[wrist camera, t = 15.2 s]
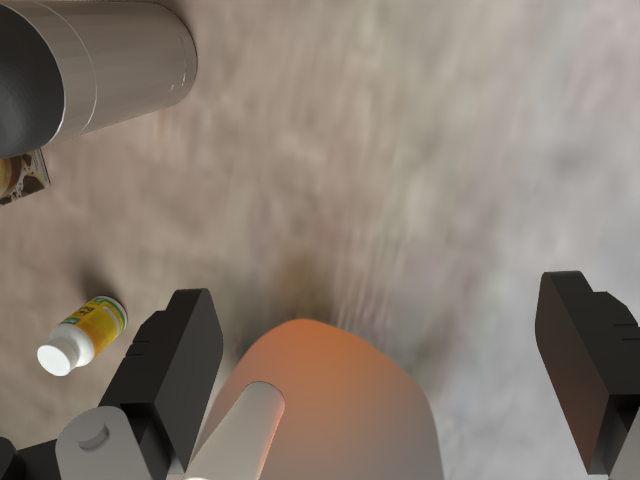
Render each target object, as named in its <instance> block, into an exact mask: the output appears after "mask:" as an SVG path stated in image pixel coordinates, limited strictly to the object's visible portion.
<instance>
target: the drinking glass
mask: <svg viewBox="0 0 640 480" xmlns="http://www.w3.org/2000/svg"><path fill="white" fill-rule="evenodd" d="M284 409H285V400H284V397H283V395H282V394H281V392H280V391H279V390H278V389H277V388H276V387H274V386H273V385H271V384H269V383H266V382H260V381H259V382H253V383H251V384H249V385H248V386H246V388H245V389H244V390H243V392H242V394H241V395H240V397H239V399H238V400H237V401H236V402H235V404H234V405H233V406H232V408H231V409H230V411H229V412H228V413H227V414H226V416H225V417H224V418H223V420H222V421H221V422H220V424H219V425H218V426H217V428H216V429H215V430H214V432H213V433H212V434H211V436H210V437H209V438H208V439H207V441H206V442H205V443H204V445H203V446H202V447H201V449H200V450H199V452H198V453H197V455H196V456H195V458H194V459H193V461H192V462H191V464H190V466H189V467H188V469H187V471H186V473H185V474H184V476H183V478H182V480H259V477H260V474H261V471H262V468H263V465H264V463H265V460H266V457H267V454H268V451H269V448H270V445H271V442H272V440H273V437H274V434H275V431H276V428H277V425H278V423H279V420H280V418H281V416H282V414H283V412H284Z"/></svg>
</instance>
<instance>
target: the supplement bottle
mask: <svg viewBox="0 0 640 480" xmlns="http://www.w3.org/2000/svg"><path fill="white" fill-rule="evenodd" d="M126 325H127V315H126V312H125V310H124V309H123V307H122V306H121V305H120V304H119V303H118V302H117V301H115V300H114V299H112V298H110V297H106V296H98V297H95V298H93V299H92V300H90V301H89V302H88V303H86V304H85V305H84V306H82V307H81V308H80V309H78V310H77V311H76V312H75V313H73V314H72V315H71V316H69V317H68V318H67V319H65V320H64V321H63V322H61V323H60V324H59V325H57V326H56V327H55V328H54V329H53V330H52V332H51V334H50V337H49V340H48V341H46V342H45V343H44V344H43V345H42V346H41V347H40V348H39V349H38V353H37V355H38V359H39V361H40V363H41V365H42V366H43V367H44V368H45V369H46V370H47V371H48V372H50V373H52V374H54V375H57V376H64V375H66V374H68V373H69V372H70V371H71V370H72V369H74V368H75V367H78V366H83V365H86V364H87V363H89V362H90V361H91V360H92V359H93V358H94V357H96V356H97V355H98V354H99V353H100V352H101V351H102V350H103V349H104V348H105V347H106V346H107V345H108V344H110V343H111V342H112V341H113V340H114V339H115V338H116V337H117V336H118V335H119V334H120V333H122V332H123V330H124V329H125V328H126Z"/></svg>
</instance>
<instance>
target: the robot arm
mask: <svg viewBox="0 0 640 480" xmlns="http://www.w3.org/2000/svg"><path fill="white" fill-rule="evenodd" d="M196 71H197V57H196V51H195V47H194V44H193V41H192V38H191V36H190V34H189V32H188V30H187V29H186V27H185V25H184V24H183V23H182V22H181V21H180V19H179V18H178V17H177V16H176V15H174V14H173V13H172V12H171V11H170V10H168V9H166V8H164V7H162V6H161V5H158V4H154V3H150V2H119V1H52V0H0V159H4V158H10V157H14V156H18V155H21V154H24V153H28V152H31V151H34V150H36V149H39V148H42V147H45V146H48V145H51V144H54V143H57V142H61V141H64V140H67V139H70V138H72V137H75V136H78V135H81V134H85V133H88V132H91V131H94V130H97V129H100V128H103V127H106V126H109V125H113V124H116V123H119V122H122V121H125V120H128V119H131V118H134V117H138V116H141V115H144V114H147V113H150V112H154V111H157V110H160V109H163V108H166V107H169V106H171V105H174V104H176V103H178V102H179V101H181V100H182V99H183V98H184V97H185V96H186V95H187V94H188V92H189V91H190V90H191V87H192V85H193V83H194V81H195V76H196ZM535 336H536V342H537V346H538V349H539V352H540V354H541V357H542V359H543V362H544V364H545V367H546V370H547V372H548V375H549V377H550V380H551V382H552V385H553V387H554V390H555V392H556V395H557V397H558V400H559V402H560V405H561V408H562V410H563V413H564V415H565V418H566V420H567V423H568V425H569V428H570V430H571V433H572V435H573V438H574V440H575V443H576V446H577V448H578V451H579V453H580V456H581V458H582V461H583V463H584V466H585V468H586V471H587V473H588V475H590V474H608V477H609V479H608V480H640V327H638V323H637V321H636V320H635V318H634V317H633V315H632V314H631V312H630V311H629V309H628V308H627V306H626V305H624V304H623V303H621V302H620V301H619V300H617V299H616V298H615V297H613V296H612V295H611V294H609V293H608V292H607V291H606V292H593V290H592V289H591V287H590V285H589V284H588V282H587V280H586V279H585V277H584V275H583V274H582V273H581V272H580V271H558V272H544V273H543V275H542V278H541V284H540V291H539V298H538V305H537V312H536V319H535ZM125 355H126V357H125V358H123V360H122V362H121V364H120V366H119V368H118V369H117V371H116V373H115V375H114V377H113V379H112V381H111V382H110V384H109V386H108V388H107V390H106V392H105V394H104V396H103V397H102V399H101V401H100V403H99V405H98V407H96V408H93V409H90V410H88V411H86V412H84V413H82V414H80V415H79V416H77V417H76V418H74V419H73V420H72V421H71V422H70V423H69V424H68V425H67V426H66V427H65V428H64V429H63V431H62V432H61V433H60V435H59V437H58V439H55V440H52V441H48V442H45V443H41V444H38V445H35V446H31V447H28V448H24V449H21V450H18V451H17V450H16V448H15V447H14V445H13V444H12V443H11V442H10V441H9V440H8V439H6V438H4V437H0V480H166V477H167V474H185V473H186V470H187V467H188V463H189V460H190V457H191V454H192V451H193V448H194V444H195V441H196V438H197V435H198V432H199V429H200V425H201V422H202V419H203V416H204V413H205V410H206V407H207V403H208V400H209V397H210V394H211V391H212V388H213V384H214V381H215V378H216V375H217V372H218V369H219V365H220V362H221V359H222V355H223V336H222V331H221V328H220V325H219V321H218V318H217V315H216V311H215V308H214V304H213V301H212V298H211V295H210V292H209V290H208V289H206V288H201V289H181V290H176V291H175V292H174V294H173V296H172V298H171V300H170V302H169V304H168V306H167V308H166V310H163V311H156V312H155V313H154V314H153V315H152V316H150V317H149V318H148V319H147V320H146V321H145V322H144V323H143V324H142V325H141V326H140V328H139V330H138V332H137V334H136V336H135V338H134V340H133V344H132V345H130V347H129V349H128V351H127V353H126V354H125Z"/></svg>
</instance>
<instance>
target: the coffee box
mask: <svg viewBox="0 0 640 480" xmlns="http://www.w3.org/2000/svg"><path fill="white" fill-rule="evenodd" d="M49 186H50V184H49V180H48V176H47V173H46V170H45V166H44V162H43V159H42V155H41V151H40V148H39V149H36V150H34V151H31V152H28V153H24V154H21V155H18V156H14V157H10V158H4V159H0V206H3V205H5V204H8V203H10V202H13V201H15V200H18V199H20V198H22V197H25V196H27V195H30V194H32V193H34V192H37V191H39V190H42V189H45V188H47V187H49Z"/></svg>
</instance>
